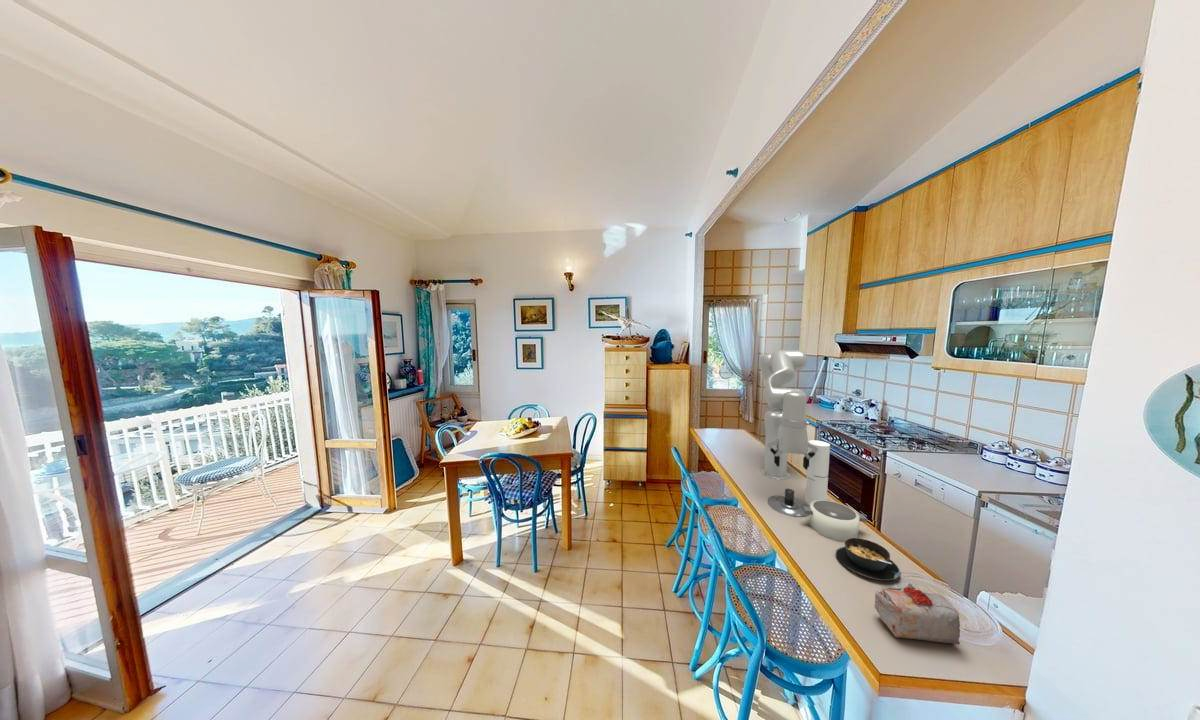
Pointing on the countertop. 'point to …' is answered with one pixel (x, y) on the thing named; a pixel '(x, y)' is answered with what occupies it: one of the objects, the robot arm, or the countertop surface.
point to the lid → (788, 504)
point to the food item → (918, 615)
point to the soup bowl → (868, 559)
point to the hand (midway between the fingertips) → (791, 466)
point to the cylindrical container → (817, 472)
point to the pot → (834, 519)
